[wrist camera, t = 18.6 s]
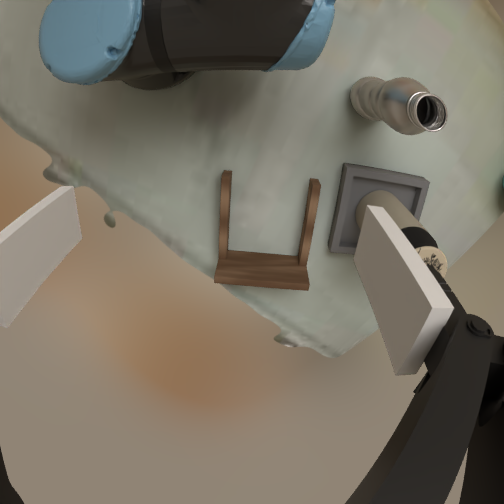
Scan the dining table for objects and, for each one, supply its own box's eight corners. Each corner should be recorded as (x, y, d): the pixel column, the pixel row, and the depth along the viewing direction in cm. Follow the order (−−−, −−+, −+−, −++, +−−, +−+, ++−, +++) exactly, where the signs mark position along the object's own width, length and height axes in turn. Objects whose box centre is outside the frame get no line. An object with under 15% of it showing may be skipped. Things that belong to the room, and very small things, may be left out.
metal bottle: (372, 127, 42) (436, 161, 25) (337, 100, 41) (387, 115, 23) (395, 95, 39) (470, 113, 22) (361, 67, 38) (424, 63, 21)
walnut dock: (224, 170, 47) (216, 187, 40) (317, 179, 47) (327, 197, 40) (220, 255, 55) (214, 282, 48) (303, 262, 55) (308, 290, 48)
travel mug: (408, 206, 48) (460, 265, 32) (379, 241, 51) (418, 310, 36) (374, 180, 46) (423, 233, 30) (345, 218, 49) (377, 285, 34)
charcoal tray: (343, 162, 45) (347, 167, 43) (423, 177, 46) (429, 182, 43) (327, 244, 53) (330, 252, 51) (401, 251, 53) (406, 259, 51)
